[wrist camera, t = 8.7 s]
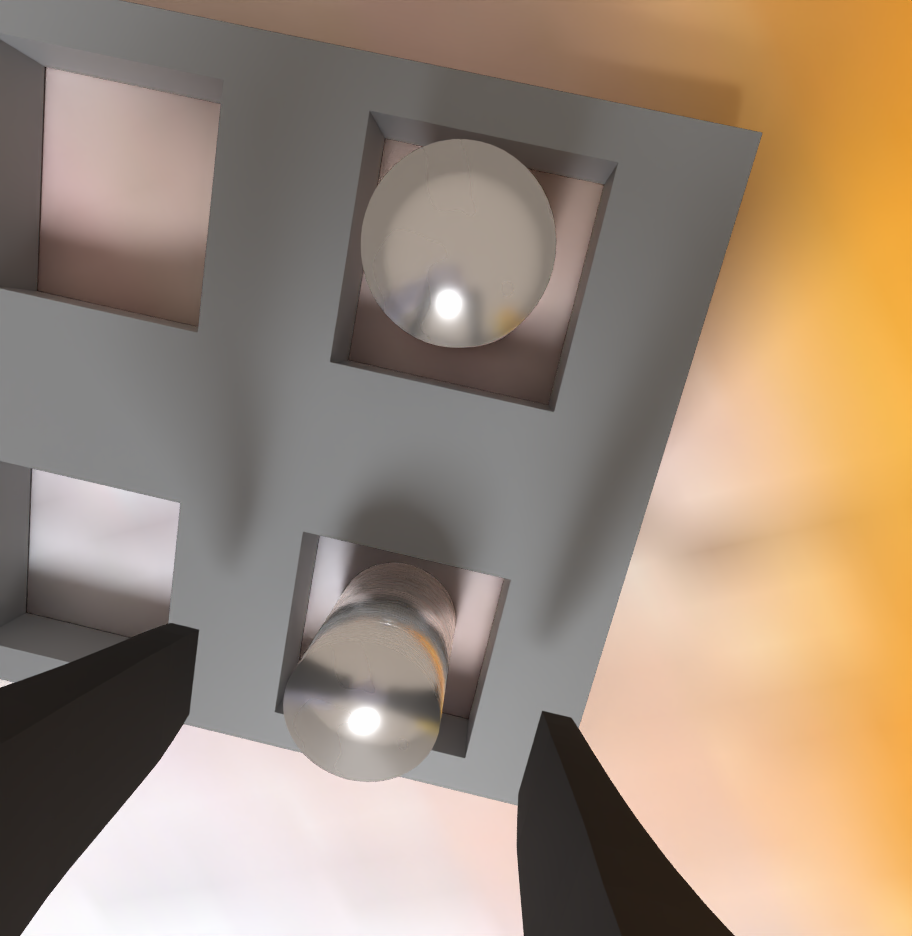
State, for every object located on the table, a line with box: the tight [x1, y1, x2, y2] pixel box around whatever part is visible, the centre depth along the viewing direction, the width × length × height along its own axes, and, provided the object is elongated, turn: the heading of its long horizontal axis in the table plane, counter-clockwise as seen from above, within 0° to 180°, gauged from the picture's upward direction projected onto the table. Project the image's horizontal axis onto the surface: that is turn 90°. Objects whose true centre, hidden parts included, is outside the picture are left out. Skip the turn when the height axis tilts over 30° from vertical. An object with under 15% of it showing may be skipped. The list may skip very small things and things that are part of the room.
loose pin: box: [283, 563, 456, 782], centre depth 13 cm, size 3×3×4 cm
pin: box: [361, 139, 556, 348], centre depth 11 cm, size 3×3×4 cm
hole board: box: [0, 0, 762, 805], centre depth 13 cm, size 18×16×2 cm
